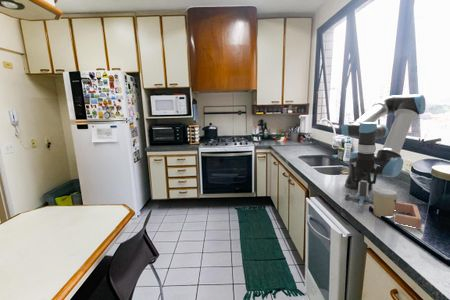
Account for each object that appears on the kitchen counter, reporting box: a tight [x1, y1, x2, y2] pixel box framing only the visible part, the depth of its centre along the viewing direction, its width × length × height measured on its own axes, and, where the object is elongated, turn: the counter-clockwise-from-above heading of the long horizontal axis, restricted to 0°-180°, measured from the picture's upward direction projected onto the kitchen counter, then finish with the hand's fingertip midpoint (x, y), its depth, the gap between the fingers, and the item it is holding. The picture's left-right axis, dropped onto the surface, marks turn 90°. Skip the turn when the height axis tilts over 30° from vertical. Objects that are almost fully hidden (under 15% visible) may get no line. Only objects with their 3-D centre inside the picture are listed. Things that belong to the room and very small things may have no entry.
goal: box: [394, 201, 422, 229], centre depth 102 cm, size 16×9×4 cm, turn 146°
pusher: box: [355, 180, 370, 214], centre depth 115 cm, size 18×6×11 cm, turn 146°
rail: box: [344, 192, 406, 205], centre depth 119 cm, size 2×26×3 cm, turn 56°
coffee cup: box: [372, 187, 399, 218], centre depth 106 cm, size 9×9×12 cm
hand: (362, 194), depth 122 cm, fingers closed on pusher, 3 cm apart
